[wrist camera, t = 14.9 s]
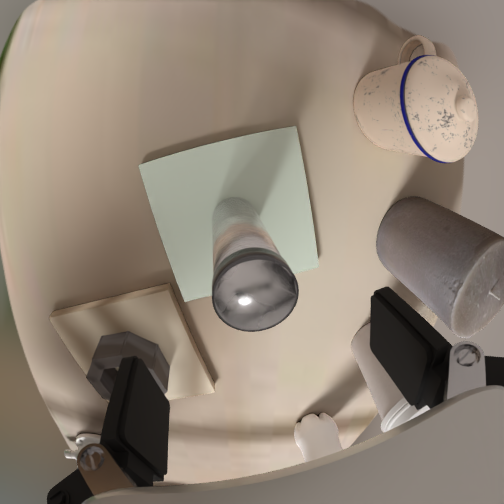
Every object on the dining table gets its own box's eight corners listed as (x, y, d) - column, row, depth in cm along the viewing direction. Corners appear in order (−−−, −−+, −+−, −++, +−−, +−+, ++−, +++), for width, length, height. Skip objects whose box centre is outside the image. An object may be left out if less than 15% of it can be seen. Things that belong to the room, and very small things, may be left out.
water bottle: (308, 406, 40) (357, 544, 17) (339, 410, 42) (391, 530, 19) (283, 429, 41) (318, 556, 19) (314, 432, 44) (354, 546, 21)
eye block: (112, 397, 34) (105, 426, 29) (53, 311, 28) (34, 338, 22) (214, 384, 35) (216, 416, 30) (169, 282, 28) (162, 313, 23)
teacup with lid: (416, 158, 26) (496, 179, 16) (346, 145, 25) (425, 157, 14) (419, 60, 22) (496, 47, 11) (350, 35, 21) (421, -3, 10)
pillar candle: (439, 194, 29) (535, 238, 15) (430, 267, 32) (507, 329, 19) (376, 198, 28) (481, 253, 14) (371, 279, 32) (446, 362, 18)
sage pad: (185, 296, 29) (184, 301, 28) (141, 164, 23) (138, 165, 22) (315, 263, 30) (318, 267, 29) (292, 126, 24) (296, 125, 23)
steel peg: (205, 202, 25) (200, 270, 13) (252, 191, 25) (291, 247, 13) (217, 246, 26) (225, 339, 14) (262, 234, 26) (303, 319, 15)
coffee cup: (393, 354, 38) (442, 424, 24) (337, 370, 37) (378, 454, 23) (405, 303, 34) (473, 374, 20) (344, 318, 33) (403, 410, 19)
